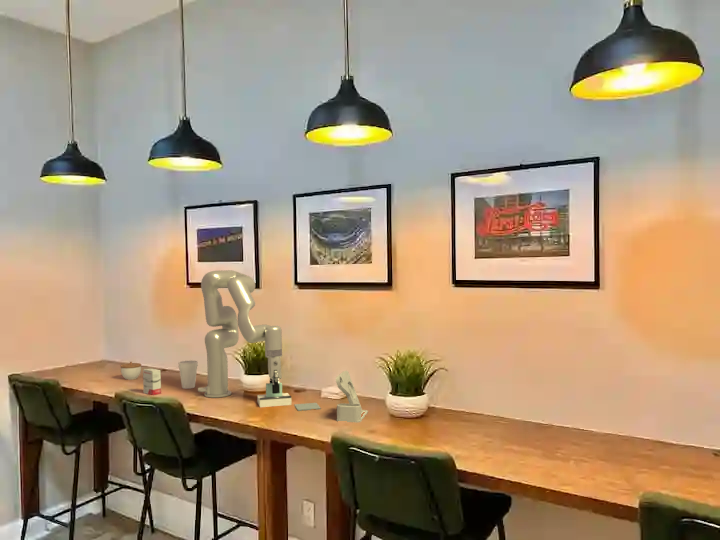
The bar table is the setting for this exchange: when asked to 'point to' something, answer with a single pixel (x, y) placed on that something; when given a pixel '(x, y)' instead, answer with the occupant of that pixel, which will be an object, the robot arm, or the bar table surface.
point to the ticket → (269, 390)
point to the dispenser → (274, 400)
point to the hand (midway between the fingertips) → (274, 391)
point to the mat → (307, 406)
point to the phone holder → (352, 409)
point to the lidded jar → (131, 370)
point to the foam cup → (188, 373)
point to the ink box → (152, 381)
